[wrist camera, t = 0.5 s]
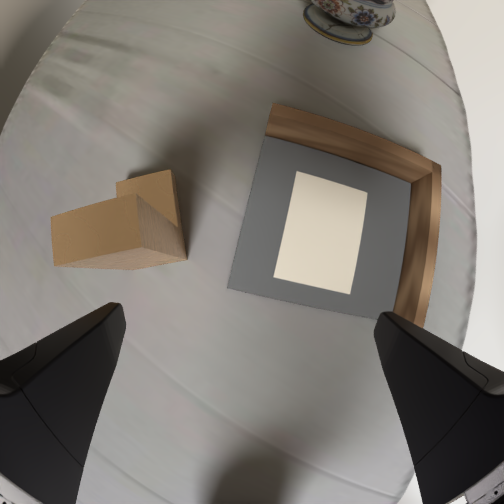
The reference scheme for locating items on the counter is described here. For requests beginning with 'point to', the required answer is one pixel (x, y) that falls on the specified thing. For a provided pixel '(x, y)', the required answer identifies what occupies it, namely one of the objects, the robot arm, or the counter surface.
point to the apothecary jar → (349, 18)
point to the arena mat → (322, 232)
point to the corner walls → (390, 162)
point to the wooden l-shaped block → (123, 228)
